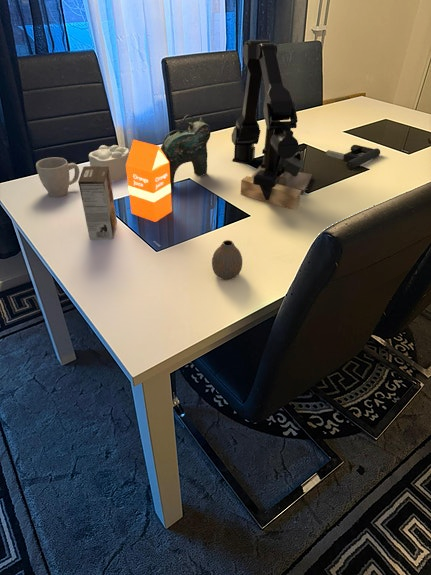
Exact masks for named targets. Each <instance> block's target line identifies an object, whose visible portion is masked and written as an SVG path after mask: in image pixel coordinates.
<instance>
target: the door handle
mask: <svg viewBox="0 0 431 575" xmlns="http://www.w3.org/2000/svg"><path fill="white" fill-rule="evenodd" d="M325 155H326V156H329V157H332V158H335V159H338V160H342V161H343V162H345V163H346V165H345V166H346V168H347V169H348V170H351V169H355V168H357V167H359V166H360V167H362V166H364V165H366V164H369V163H370V162H372V161H373V160H374V159H375V158H377V157H380V155H381V150H380V149H379V148H378V147H377V148H372V147H368V146H362V145H359V144H353V145H352V146H351V147H350V151H349V152H347V153H343V152H337V151H335V150H331V149H328V150H326V152H325Z"/></svg>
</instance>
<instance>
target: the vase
mask: <svg viewBox="0 0 431 575" xmlns="http://www.w3.org/2000/svg"><path fill="white" fill-rule="evenodd" d="M211 267H212V271H213V272H214V274H215V275H216V276H217V277H218V278H219V279H221V280H223V281H229V280H230V281H231V280H233V279H235V278H237V276H239V274H240V272H241V271H242V268H243V256H242V254H241V251H240V249H239V248H238V247H237V246H236V245H235V243H234V242H233V241H232V240H230V239H226V240H224V241H222V243H221V244H220V246H218V247H217V249H216V250H215V251H214V252H213V255H212V259H211Z"/></svg>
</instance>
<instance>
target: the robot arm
mask: <svg viewBox="0 0 431 575" xmlns="http://www.w3.org/2000/svg"><path fill="white" fill-rule="evenodd" d="M242 57H243V61H244V64H245V67H246V68H247V72H246V73H247V75H246V81H245V89H244V98H243V106H242V113H241V114H240V116H239V117H238V118H237V119H236V123H235V126H234V127H233V131H232V132H231V142H232V144H233V145H234V154H233V155H234V157H233V158H232V162H236V163H244V164H251V162H252V161H253V160H255V158H256V157H255V154H256V147H255V145H258V143H259V140H260V135H261V130H260V128H261V127H260V125H259V122H258V120H257V113H258V106H259V101H260V100H259V99H260V93H261V86H262V80H263V83H264V89H265V94H266V97H265V99H264V102H263V108H262V111H263V112H262V113H263V117H264V121H265V126H266V128H265V138H264V148H263V149H262V151H261V152H262V154H263V160H262V163H261V164H260V166H261V168H265V170H264V171H263V170H260V171H258V172H257V173H256V175H255V176H254V178H253V184H255V185H259V186H260V188H261V190H262V192H263V195H264V197H265V200H269V199H270V195H271V192H272V189H273V187H275V186H276V185H277V183H278V182H279V180H278V179H279V176H280V175H282V174H283V173H284V172H285V171H286V172H288V173H290V174H291V175H292V176H294V177H296V176H297V175H298V173H299V172H300V171H301V169H302V168H303V166H304V164H305V163H304V160H303V154H302V153H301V152H299V147H300V145H299V141H298V139H297V138H296V137H295V136H294V131H293V130H292V129H297V127H298V126H297V123H298V114H297V109H296V105H295V102H294V101H293V97H292V95H291V92H290V91H289V90H288V89H287V88H286V87H285V86H284V85H285V84H284V83H283V77H282V73H281V69H280V64H279V58H278V45H277V44H276V43H274V42H270V40H269V39H248V40H247V41H246V42H245V44H243V48H242Z"/></svg>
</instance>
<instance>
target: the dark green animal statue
mask: <svg viewBox="0 0 431 575" xmlns="http://www.w3.org/2000/svg"><path fill="white" fill-rule="evenodd" d="M189 117H190V118H191V120H192V122H188V121H187V124H188V125H189V126H188V128H187V130H180V129H174V130H172V131H170V132H168V133H167V134H166V135H165V136H164V137H163V139H162V140H163V141H162V144H161V146H160V148H161V150H162V152H163V153H164V155H165V156H166V158H167V160H168V161H169V167H170V183H171V188H174V186H175V176H176V172H177V171H178V169H179V167H180V166H181V165H183V164H187V163H190V162H191V163H192V167H193V172H194V175H196V176H199V177H202V176H205V175H207V174H208V147H207V144H208V142H209V140H210V139H211V138H210V137H211V128H210V127H211V126H210V125H209V124H207V123H205V121H204V118H203V117H202V116H200V118H199V121H194V117H193V116H192V115H191V114H186V115H185V116H184V117H183V119H182V121H183V122H185V121H186V119H187V118H189ZM174 132H176V133H174ZM173 133H174V134H173ZM171 134H172V135H171Z"/></svg>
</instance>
